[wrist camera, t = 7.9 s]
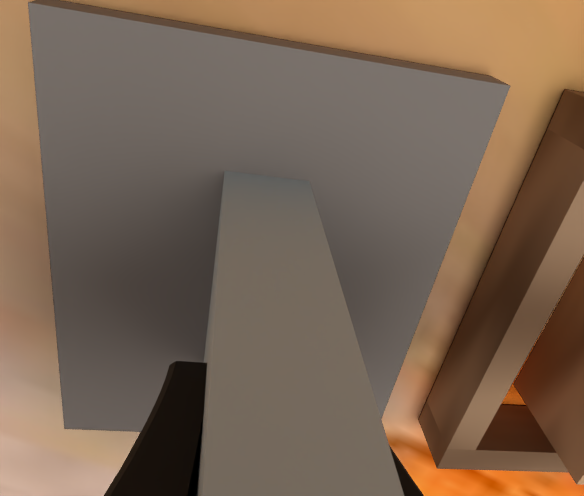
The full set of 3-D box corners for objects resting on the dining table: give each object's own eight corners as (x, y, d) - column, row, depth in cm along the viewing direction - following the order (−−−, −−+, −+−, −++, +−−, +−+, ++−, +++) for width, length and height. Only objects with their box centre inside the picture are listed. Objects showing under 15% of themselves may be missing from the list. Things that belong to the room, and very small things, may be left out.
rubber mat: (366, 416, 18) (372, 440, 17) (73, 403, 16) (64, 428, 15) (490, 76, 12) (510, 85, 11) (46, -2, 10) (28, 2, 9)
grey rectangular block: (271, 366, 15) (298, 729, 8) (203, 362, 14) (170, 736, 8) (309, 181, 12) (407, 507, 5) (224, 170, 11) (201, 504, 5)
